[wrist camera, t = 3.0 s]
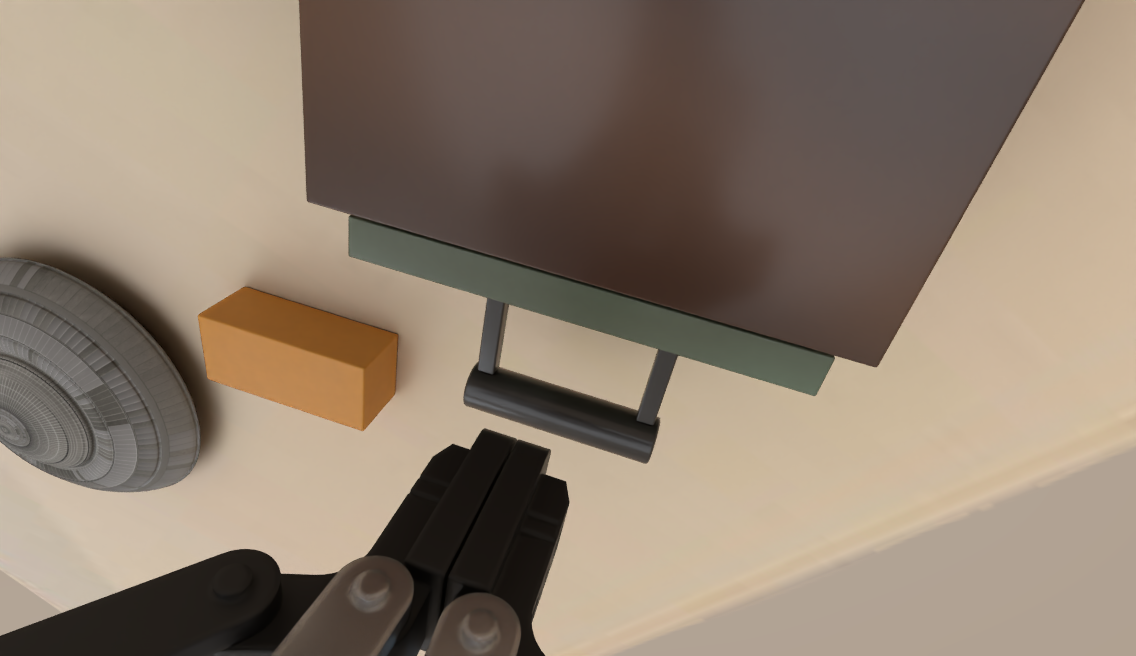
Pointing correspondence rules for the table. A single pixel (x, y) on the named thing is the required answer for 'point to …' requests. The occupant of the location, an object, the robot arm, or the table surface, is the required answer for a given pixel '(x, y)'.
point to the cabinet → (680, 141)
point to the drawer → (592, 310)
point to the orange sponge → (299, 356)
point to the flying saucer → (88, 386)
